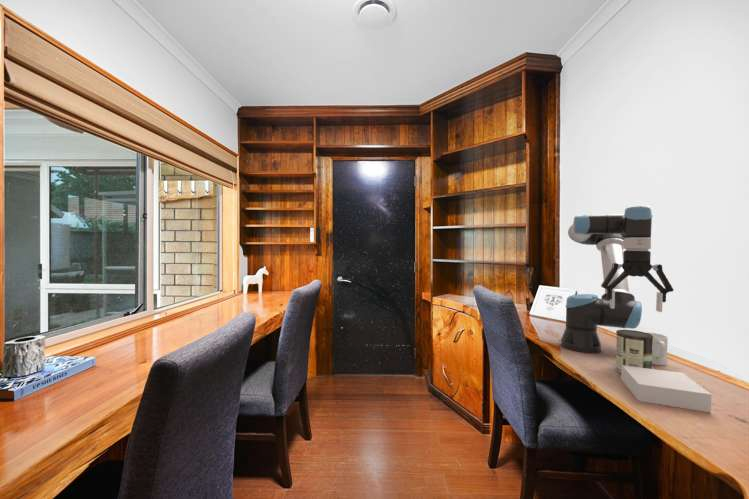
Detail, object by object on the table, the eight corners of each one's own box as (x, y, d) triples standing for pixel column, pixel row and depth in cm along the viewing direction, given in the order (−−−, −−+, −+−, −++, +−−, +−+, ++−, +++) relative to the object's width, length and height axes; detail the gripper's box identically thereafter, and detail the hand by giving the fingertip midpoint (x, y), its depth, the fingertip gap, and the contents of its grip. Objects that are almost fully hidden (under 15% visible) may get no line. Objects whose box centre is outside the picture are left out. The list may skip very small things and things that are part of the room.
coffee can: (640, 368, 121) (641, 330, 121) (659, 379, 111) (660, 338, 110) (609, 365, 123) (610, 328, 123) (624, 376, 113) (625, 336, 113)
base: (621, 379, 110) (621, 365, 110) (682, 388, 104) (682, 373, 104) (638, 401, 95) (638, 384, 95) (710, 412, 89) (711, 394, 89)
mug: (637, 357, 133) (637, 331, 132) (661, 359, 130) (662, 333, 129) (649, 367, 121) (650, 339, 121) (676, 371, 118) (677, 342, 118)
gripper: (597, 249, 117) (596, 308, 118) (687, 251, 107) (685, 315, 108) (592, 249, 124) (591, 304, 125) (676, 250, 114) (674, 310, 115)
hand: (635, 309), depth 116 cm, fingers open, 13 cm apart
